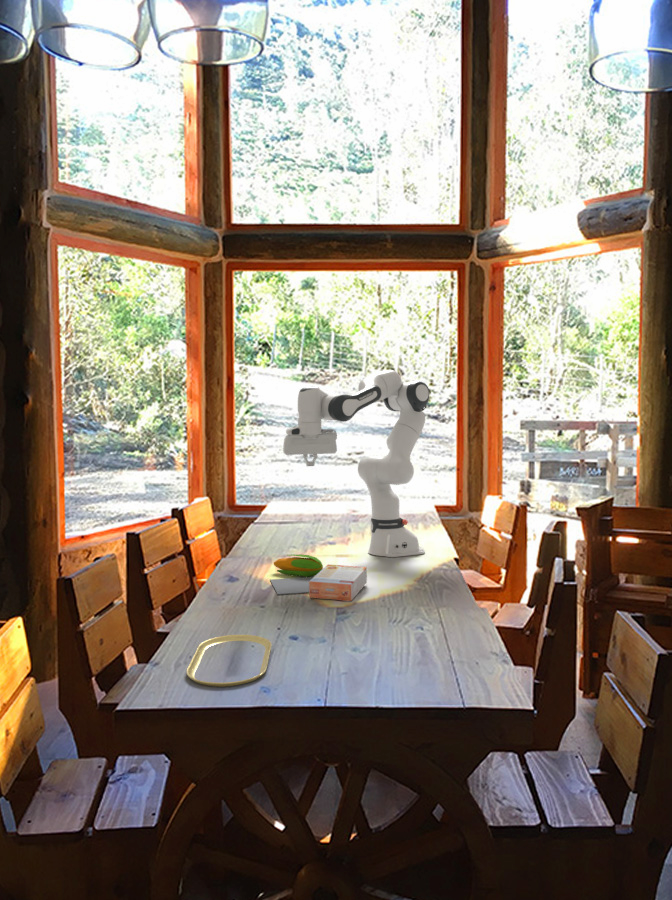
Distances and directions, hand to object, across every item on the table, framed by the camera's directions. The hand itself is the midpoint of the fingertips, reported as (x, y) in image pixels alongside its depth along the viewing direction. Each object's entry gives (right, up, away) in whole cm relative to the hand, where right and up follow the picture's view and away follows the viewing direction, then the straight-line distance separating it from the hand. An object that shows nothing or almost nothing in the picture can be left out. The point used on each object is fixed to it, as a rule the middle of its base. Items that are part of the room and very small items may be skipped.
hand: (310, 466), depth 302 cm
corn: (-4, -39, -16) cm, 42 cm away
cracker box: (+14, -36, -31) cm, 49 cm away
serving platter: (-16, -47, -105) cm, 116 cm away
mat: (0, -40, -32) cm, 51 cm away
